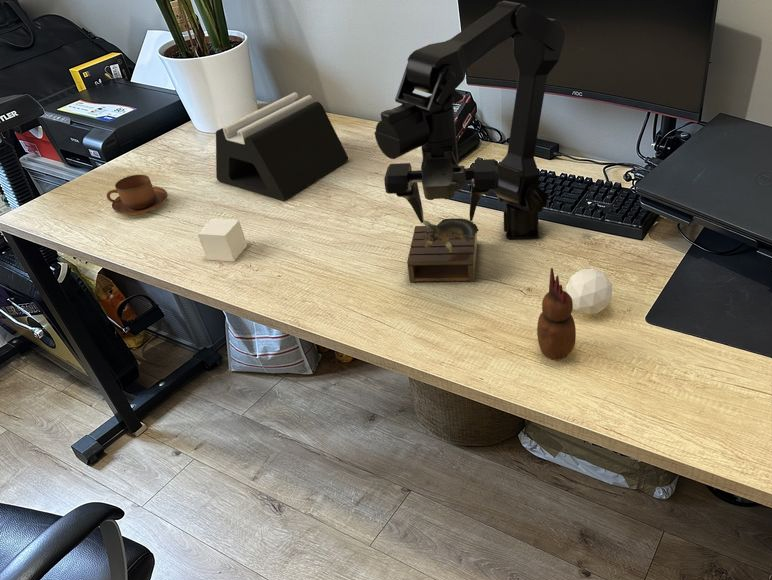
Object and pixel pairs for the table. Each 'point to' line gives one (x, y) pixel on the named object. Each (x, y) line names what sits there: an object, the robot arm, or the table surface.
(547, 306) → the wooden figurine
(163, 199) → the cup and saucer
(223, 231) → the cream white cube
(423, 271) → the box
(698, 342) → the table surface
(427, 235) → the brown grey dinosaur figurine
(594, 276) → the geometric ball
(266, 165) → the device stand
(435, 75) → the robot arm
